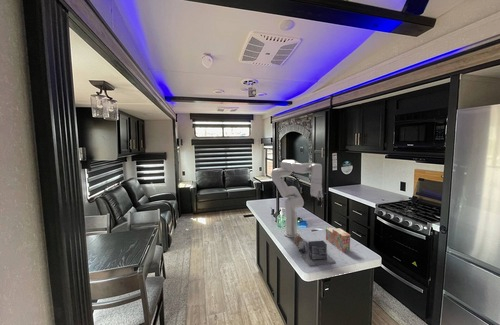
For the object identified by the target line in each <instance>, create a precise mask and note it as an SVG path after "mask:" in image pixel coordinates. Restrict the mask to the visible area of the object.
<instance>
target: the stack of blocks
mask: <svg viewBox="0 0 500 325" xmlns="http://www.w3.org/2000/svg"><path fill="white" fill-rule="evenodd" d="M325 240H326V241H328V242H329V243H330V244H332V245H333V246H334V247H335V248H337V249H338V250H339V251H340V252H342V253H343V252H350V251H351V234H350V233H348V232H346V231H345V230H344V229H342V228H340V227H339V228H334V227H326V228H325Z"/></svg>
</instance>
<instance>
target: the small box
mask: <svg viewBox="0 0 500 325" xmlns="http://www.w3.org/2000/svg"><path fill="white" fill-rule="evenodd" d="M327 246H328V244H327V243H326V242H325V241H324V240H314V241H313V240H312V241H310V240H309V241H308V254H309V257H310V259H311V260H324V259H327V254H328V253H327V252H328V250H327Z"/></svg>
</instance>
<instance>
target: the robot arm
mask: <svg viewBox="0 0 500 325" xmlns="http://www.w3.org/2000/svg"><path fill="white" fill-rule="evenodd" d="M279 166H280V167H278V168H274V169H272V170H271V173H270V177H271V179H272V182H273V183H274V184H275V186H276V188H277V189H278V192H279V194H280V195H281V197H282V198H283V199H285V200H284V203H283V205H284V208H285V209H284V211H285V231H284V232H283V235H284V236H285V237H287V238H294V237H300V232H298V214H297V211H296V209H299V208H302V207H304V204H305V201H304V199H303V197H302V195H301V194H300V192H299V190H298V188H297V187H296V186H294V185H290V186H288V184H287V183H286V181H285V180H284V179H282V178H287V177H289V176H291V174H292V173H296V174H310V190H309V191H310V192H309V193H310V197H311V198H310V200H311V203H317V205H316V206H317V207H320V206H323V199H324V194H323V185H322V184H323V165H322V164H321V163H315V162H304V163H300V162H299V161H297V160H295V159H294V158H293V159H291V158H290V159H283V160H282V161H281V162H280V164H279ZM316 198H317V200H316ZM316 201H317V202H316Z"/></svg>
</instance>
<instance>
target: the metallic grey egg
mask: <svg viewBox="0 0 500 325" xmlns="http://www.w3.org/2000/svg"><path fill="white" fill-rule="evenodd" d="M306 252H307V241H305V240H303V241H299V246H298V253H300V254H307V253H306Z"/></svg>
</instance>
